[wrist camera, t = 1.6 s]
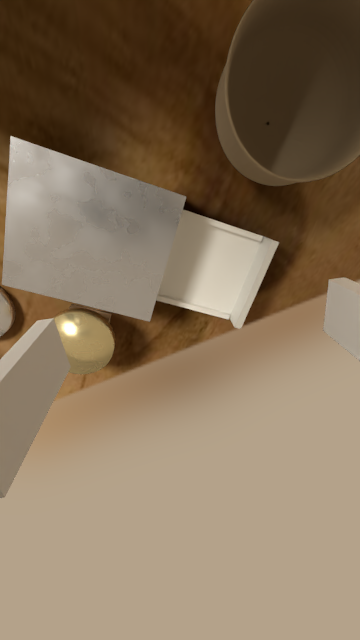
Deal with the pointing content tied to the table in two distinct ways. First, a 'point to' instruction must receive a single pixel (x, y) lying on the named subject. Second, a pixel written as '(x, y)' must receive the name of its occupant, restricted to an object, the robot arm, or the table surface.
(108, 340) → the gold disc
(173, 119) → the table surface
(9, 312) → the silver disc
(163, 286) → the tray
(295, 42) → the bowl
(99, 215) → the housing
